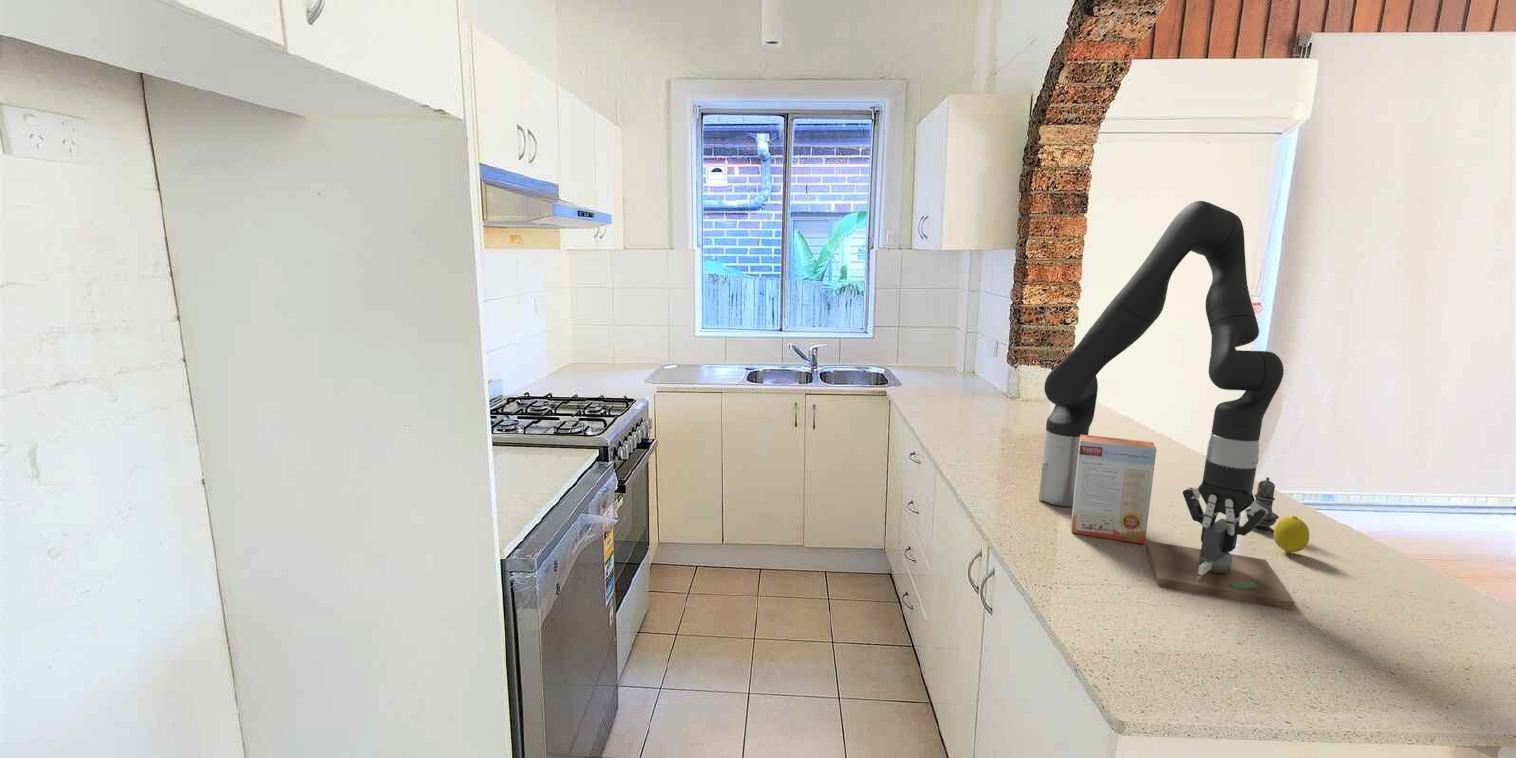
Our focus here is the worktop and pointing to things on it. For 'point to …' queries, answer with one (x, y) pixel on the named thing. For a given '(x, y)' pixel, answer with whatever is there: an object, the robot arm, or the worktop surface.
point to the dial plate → (1218, 576)
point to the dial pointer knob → (1214, 550)
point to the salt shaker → (1265, 500)
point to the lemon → (1291, 534)
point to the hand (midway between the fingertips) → (1217, 548)
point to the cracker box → (1113, 488)
